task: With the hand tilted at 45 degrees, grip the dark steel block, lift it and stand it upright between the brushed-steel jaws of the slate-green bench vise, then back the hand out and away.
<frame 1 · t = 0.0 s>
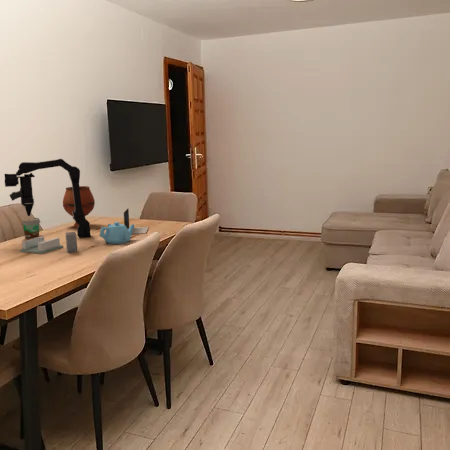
hand: (28, 214, 257), 15 cm above the table, tool pointing down, fingers open, 9 cm apart
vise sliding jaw: (31, 242, 242), point 3 cm above the table, slide at 0.0 cm
vise: (41, 249, 241), on the table
food container: (34, 237, 272), on the table
brown clay vase: (80, 226, 302), on the table
teapot: (118, 242, 257), on the table
laptop: (137, 231, 286), on the table
steel block: (72, 251, 236), on the table
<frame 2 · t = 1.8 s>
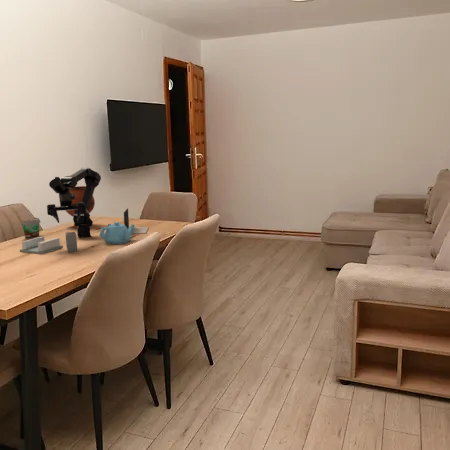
hand: (68, 221, 241), 13 cm above the table, tool tilted 45°, fingers open, 9 cm apart
nothing on the table moved.
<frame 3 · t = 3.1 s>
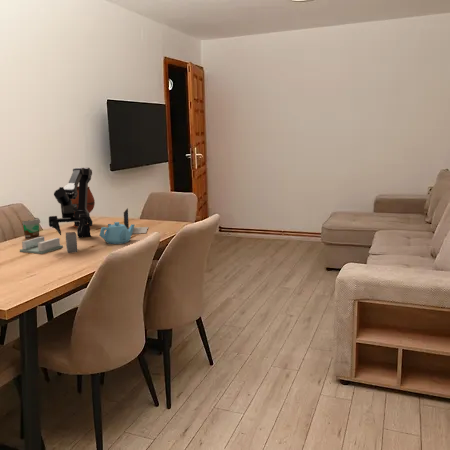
hand: (70, 233, 236), 9 cm above the table, tool tilted 45°, fingers open, 9 cm apart
nothing on the table moved.
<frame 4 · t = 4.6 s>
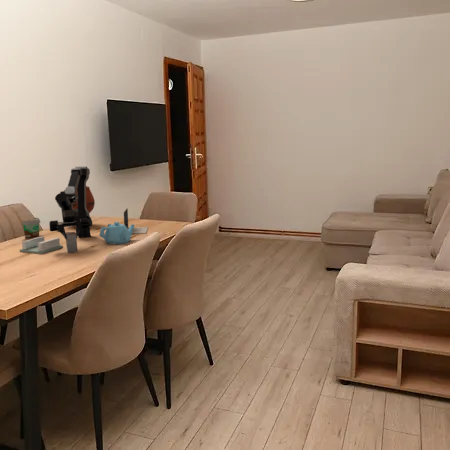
hand: (71, 238, 234), 7 cm above the table, tool tilted 45°, fingers closed on steel block, 4 cm apart
steel block: (72, 251, 236), on the table, touching gripper
everything else where it was.
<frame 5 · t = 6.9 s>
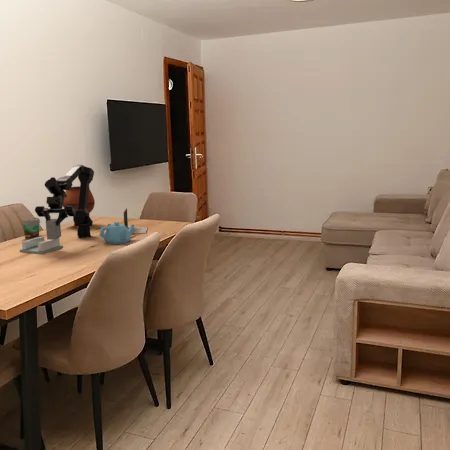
hand: (52, 225, 234), 13 cm above the table, tool tilted 45°, fingers closed on steel block, 4 cm apart
steel block: (54, 237, 237), point 7 cm above the table, touching gripper
everything else where it was.
when the fingers open (9 cm above the table, at t = 9.1 s): steel block drops 1 cm, resting on vise.
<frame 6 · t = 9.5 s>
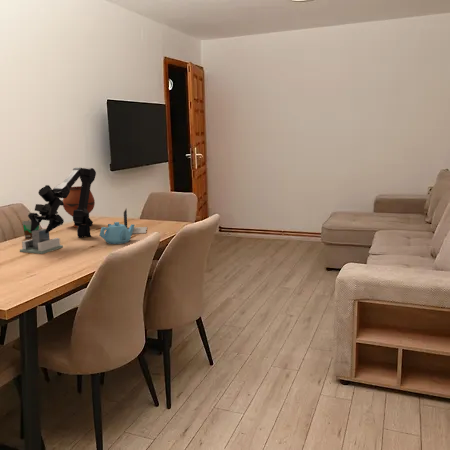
hand: (38, 232, 238), 9 cm above the table, tool tilted 45°, fingers open, 9 cm apart
steel block: (41, 247, 240), point 1 cm above the table, touching vise
everything else where it was.
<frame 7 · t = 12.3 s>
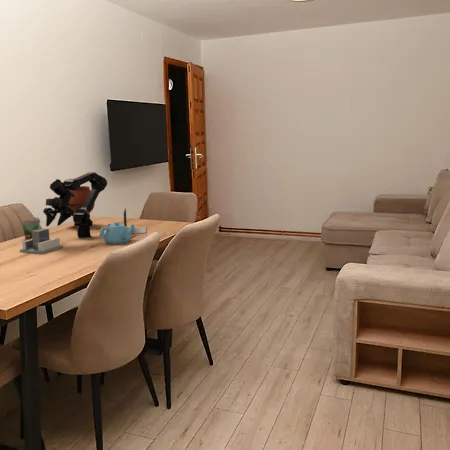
hand: (52, 225, 247), 11 cm above the table, tool tilted 40°, fingers open, 9 cm apart
nothing on the table moved.
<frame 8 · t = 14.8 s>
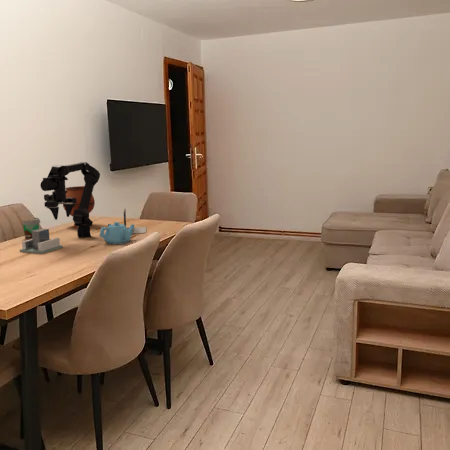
hand: (62, 218, 255), 13 cm above the table, tool pointing down, fingers open, 9 cm apart
at the end: steel block 0.0 cm off-centre on the vise, point 1.0 cm above the vise's base; steel block tilted 0°; the gripper is holding nothing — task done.
